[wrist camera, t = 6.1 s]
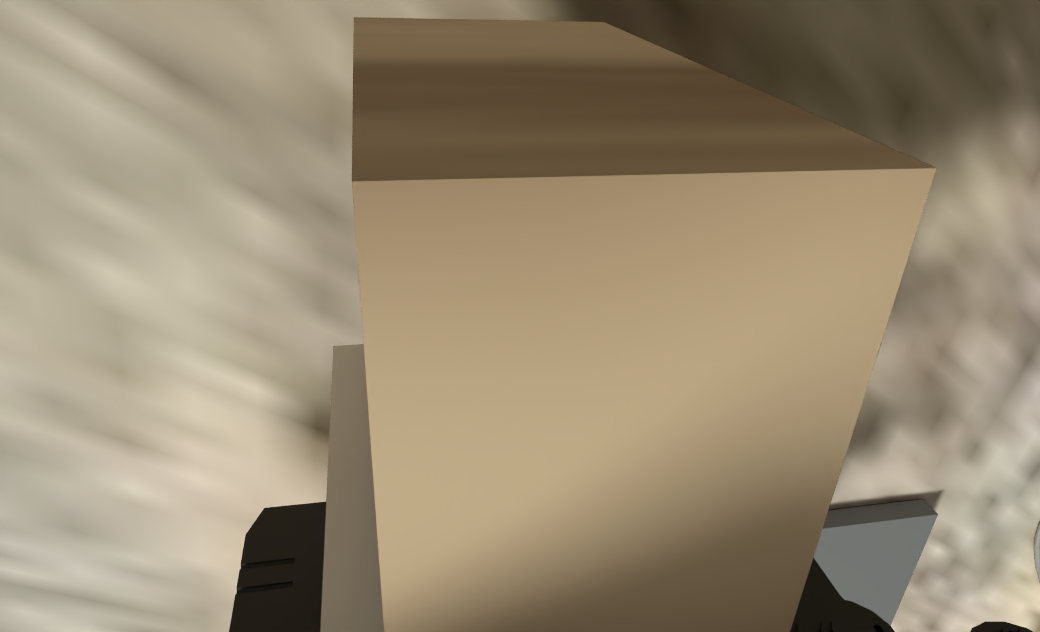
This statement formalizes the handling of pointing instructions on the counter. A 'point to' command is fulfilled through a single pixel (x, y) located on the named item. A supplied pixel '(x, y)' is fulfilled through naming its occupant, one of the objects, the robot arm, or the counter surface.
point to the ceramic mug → (1037, 551)
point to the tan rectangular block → (607, 326)
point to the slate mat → (874, 551)
